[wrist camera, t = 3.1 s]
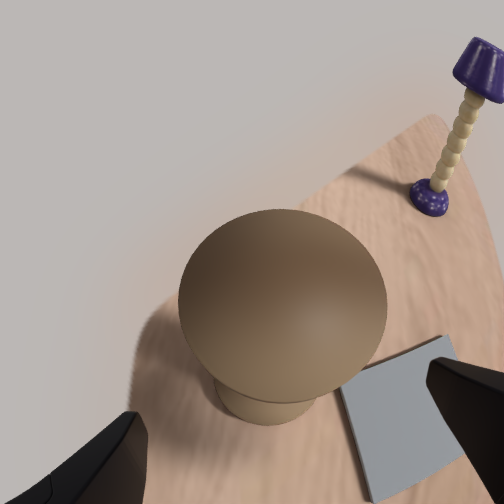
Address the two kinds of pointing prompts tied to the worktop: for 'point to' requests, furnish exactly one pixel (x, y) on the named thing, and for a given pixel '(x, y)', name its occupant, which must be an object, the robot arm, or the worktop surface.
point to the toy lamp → (463, 119)
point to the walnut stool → (281, 311)
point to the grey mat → (399, 421)
